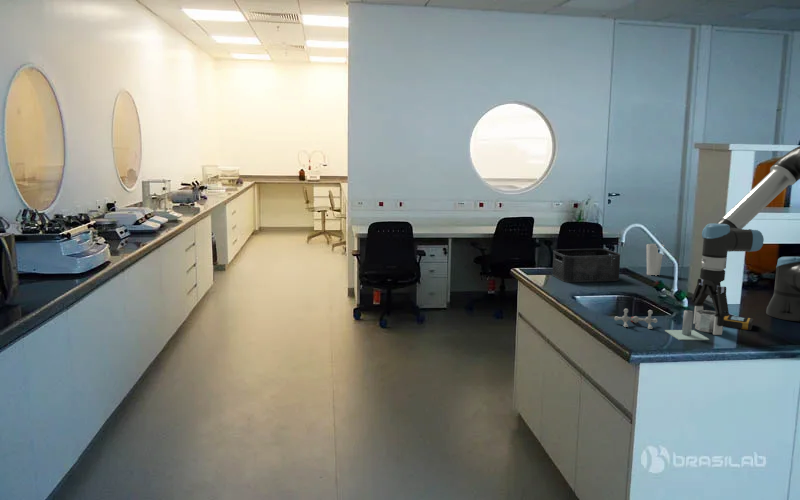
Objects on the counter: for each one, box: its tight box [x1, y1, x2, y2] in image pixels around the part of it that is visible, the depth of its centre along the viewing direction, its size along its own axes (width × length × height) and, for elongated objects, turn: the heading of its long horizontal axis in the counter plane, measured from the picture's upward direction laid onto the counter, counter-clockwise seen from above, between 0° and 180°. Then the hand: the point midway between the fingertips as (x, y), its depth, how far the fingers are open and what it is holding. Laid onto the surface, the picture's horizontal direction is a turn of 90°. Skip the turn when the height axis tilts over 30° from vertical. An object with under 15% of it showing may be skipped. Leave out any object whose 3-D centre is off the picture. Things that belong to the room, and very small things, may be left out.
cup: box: [646, 243, 665, 277], centre depth 297 cm, size 8×8×16 cm
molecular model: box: [614, 308, 658, 330], centre depth 209 cm, size 14×8×10 cm
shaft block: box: [664, 309, 710, 341], centre depth 196 cm, size 10×10×8 cm
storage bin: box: [551, 248, 621, 283], centre depth 288 cm, size 29×19×13 cm
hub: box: [694, 309, 716, 334], centre depth 203 cm, size 7×7×6 cm
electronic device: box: [723, 314, 754, 331], centre depth 211 cm, size 8×16×3 cm, turn 55°
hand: (707, 329), depth 204 cm, fingers open, 12 cm apart
